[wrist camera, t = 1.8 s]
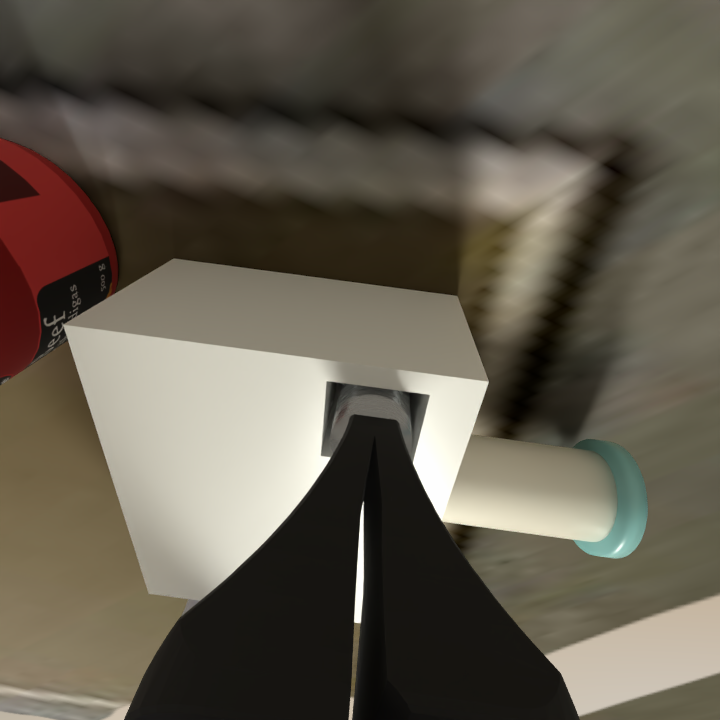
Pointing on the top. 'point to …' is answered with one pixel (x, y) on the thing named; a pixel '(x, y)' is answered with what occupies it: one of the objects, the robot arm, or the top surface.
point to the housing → (257, 402)
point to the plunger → (371, 409)
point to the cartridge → (553, 492)
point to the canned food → (46, 257)
